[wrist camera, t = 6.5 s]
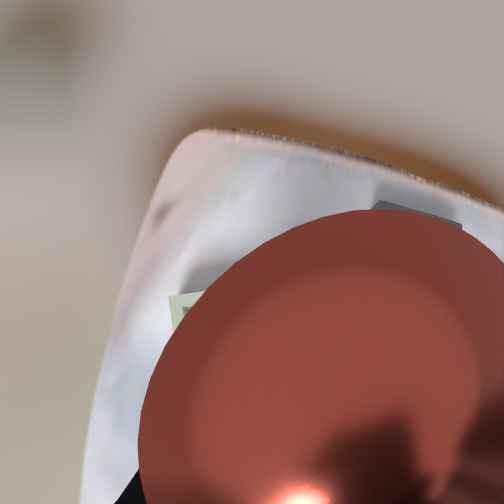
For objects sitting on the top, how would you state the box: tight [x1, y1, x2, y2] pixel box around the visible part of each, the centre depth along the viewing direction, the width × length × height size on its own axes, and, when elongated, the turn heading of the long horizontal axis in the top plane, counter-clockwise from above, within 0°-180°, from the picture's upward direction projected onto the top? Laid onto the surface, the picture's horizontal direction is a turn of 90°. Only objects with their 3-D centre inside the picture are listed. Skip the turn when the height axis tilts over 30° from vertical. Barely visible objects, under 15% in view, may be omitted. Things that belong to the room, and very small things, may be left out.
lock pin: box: [138, 209, 504, 504], centre depth 9 cm, size 5×5×15 cm
